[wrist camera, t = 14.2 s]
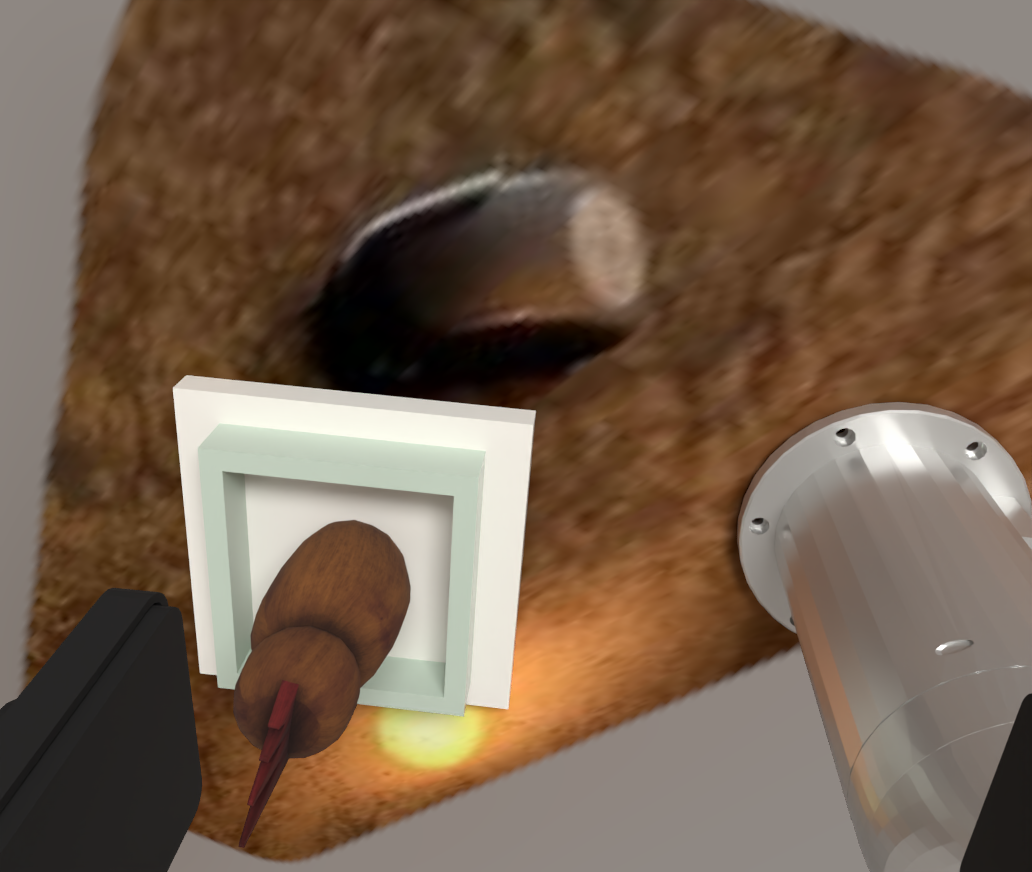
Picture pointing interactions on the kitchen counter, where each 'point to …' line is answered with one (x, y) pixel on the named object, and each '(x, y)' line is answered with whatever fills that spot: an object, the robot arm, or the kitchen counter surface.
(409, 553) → the ceramic stand
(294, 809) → the kitchen counter surface
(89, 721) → the robot arm
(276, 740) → the wooden figurine
